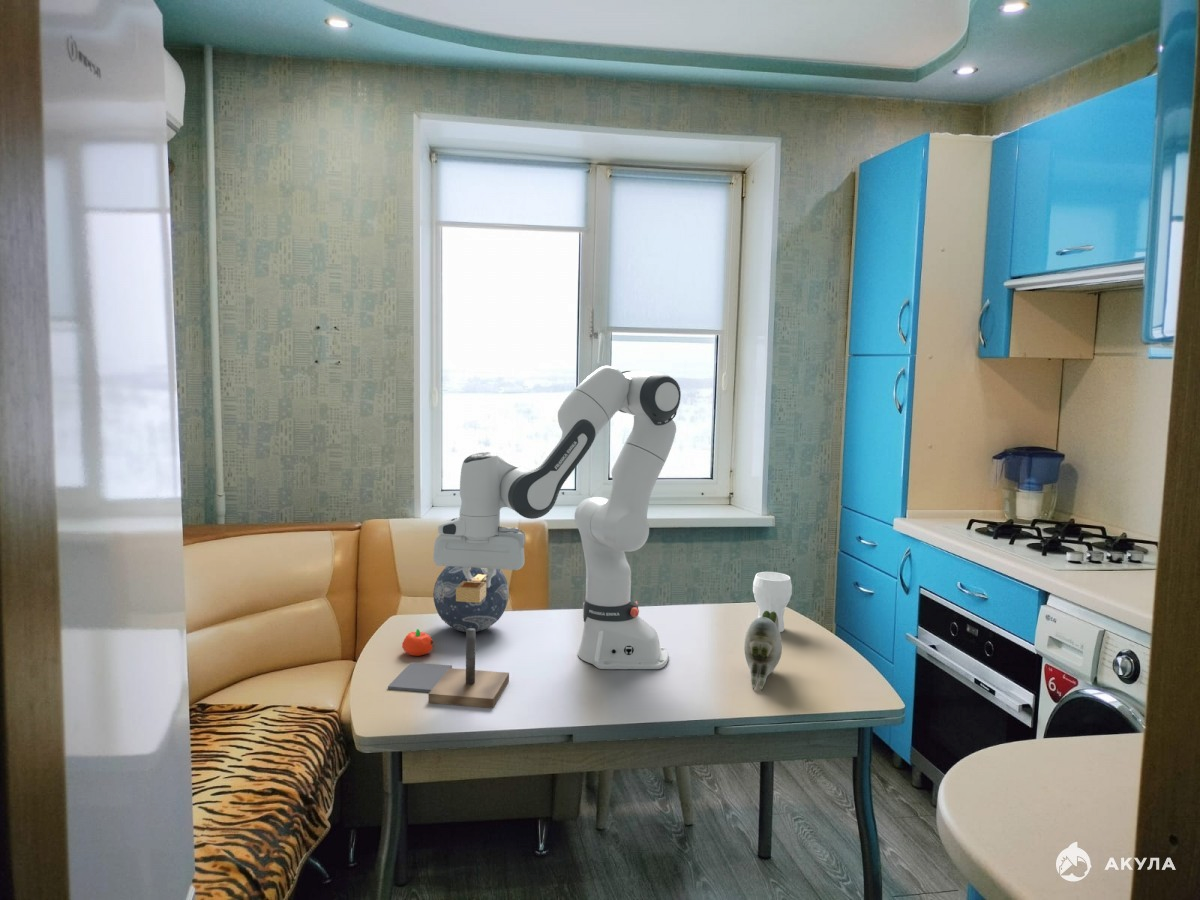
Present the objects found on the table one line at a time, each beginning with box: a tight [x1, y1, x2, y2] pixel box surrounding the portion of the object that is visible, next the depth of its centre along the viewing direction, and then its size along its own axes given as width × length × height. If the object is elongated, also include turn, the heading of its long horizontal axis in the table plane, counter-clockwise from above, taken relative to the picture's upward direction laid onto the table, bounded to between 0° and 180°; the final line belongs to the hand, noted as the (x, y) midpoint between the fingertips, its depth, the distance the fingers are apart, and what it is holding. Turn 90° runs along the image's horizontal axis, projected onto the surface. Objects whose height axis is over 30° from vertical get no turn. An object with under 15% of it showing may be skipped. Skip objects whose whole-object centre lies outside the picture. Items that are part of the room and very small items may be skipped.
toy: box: [743, 611, 783, 692], centre depth 182 cm, size 8×15×20 cm
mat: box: [387, 661, 453, 693], centre depth 175 cm, size 10×14×1 cm
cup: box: [752, 571, 793, 633], centre depth 215 cm, size 11×11×15 cm
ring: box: [456, 574, 487, 603], centre depth 169 cm, size 5×11×3 cm, turn 173°
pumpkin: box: [401, 628, 434, 657], centre depth 189 cm, size 7×8×6 cm
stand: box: [428, 628, 510, 709], centre depth 168 cm, size 14×14×14 cm
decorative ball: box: [433, 566, 510, 633], centre depth 206 cm, size 20×20×20 cm
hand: (478, 586), depth 172 cm, fingers closed on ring, 2 cm apart
